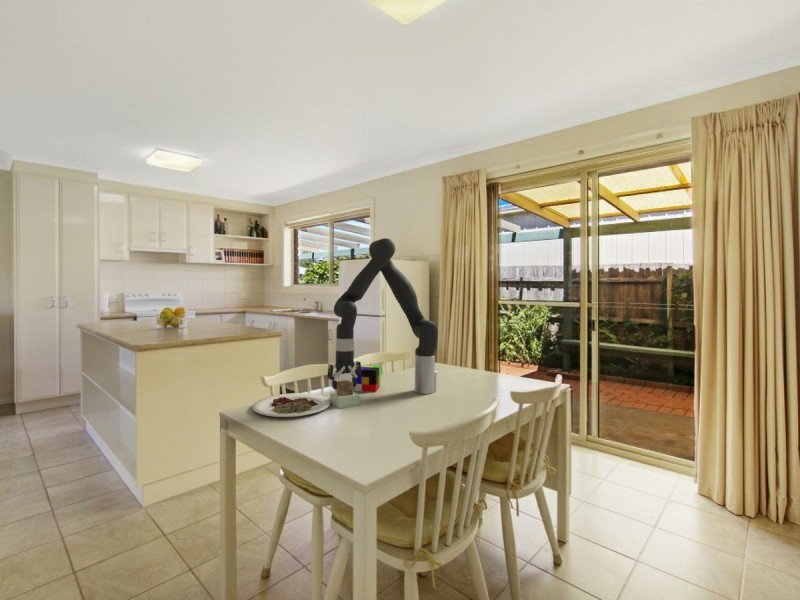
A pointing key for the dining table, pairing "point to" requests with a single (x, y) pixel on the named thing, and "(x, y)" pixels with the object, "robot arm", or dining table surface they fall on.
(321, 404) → the plated food
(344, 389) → the walnut block
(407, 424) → the dining table surface
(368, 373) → the puzzle toy
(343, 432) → the dining table surface
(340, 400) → the pedestal
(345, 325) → the robot arm
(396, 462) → the dining table surface
